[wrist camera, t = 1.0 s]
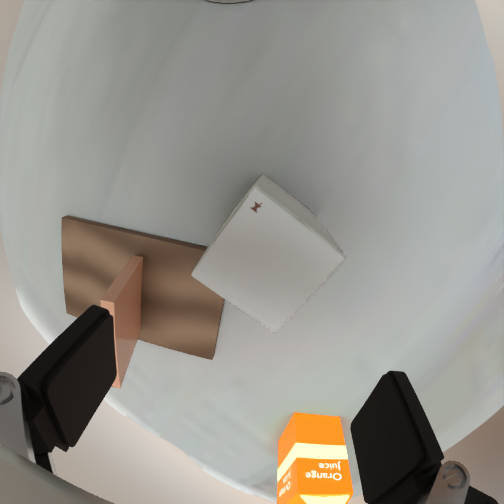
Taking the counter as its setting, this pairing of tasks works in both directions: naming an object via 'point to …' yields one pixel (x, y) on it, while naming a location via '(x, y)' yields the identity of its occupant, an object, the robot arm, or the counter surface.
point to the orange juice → (313, 462)
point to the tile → (125, 313)
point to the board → (143, 283)
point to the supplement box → (269, 255)
